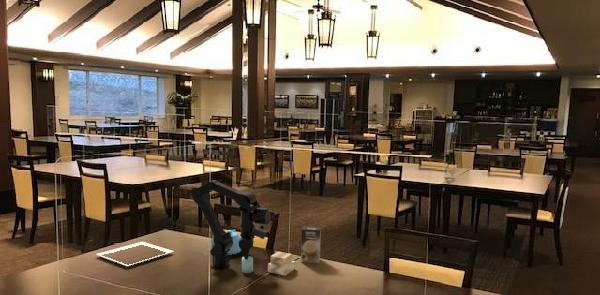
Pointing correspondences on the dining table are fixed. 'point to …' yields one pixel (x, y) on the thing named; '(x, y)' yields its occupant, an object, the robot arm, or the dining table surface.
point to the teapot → (235, 247)
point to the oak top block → (281, 258)
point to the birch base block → (281, 268)
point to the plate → (135, 246)
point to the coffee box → (310, 244)
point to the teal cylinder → (247, 265)
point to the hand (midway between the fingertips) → (247, 255)
